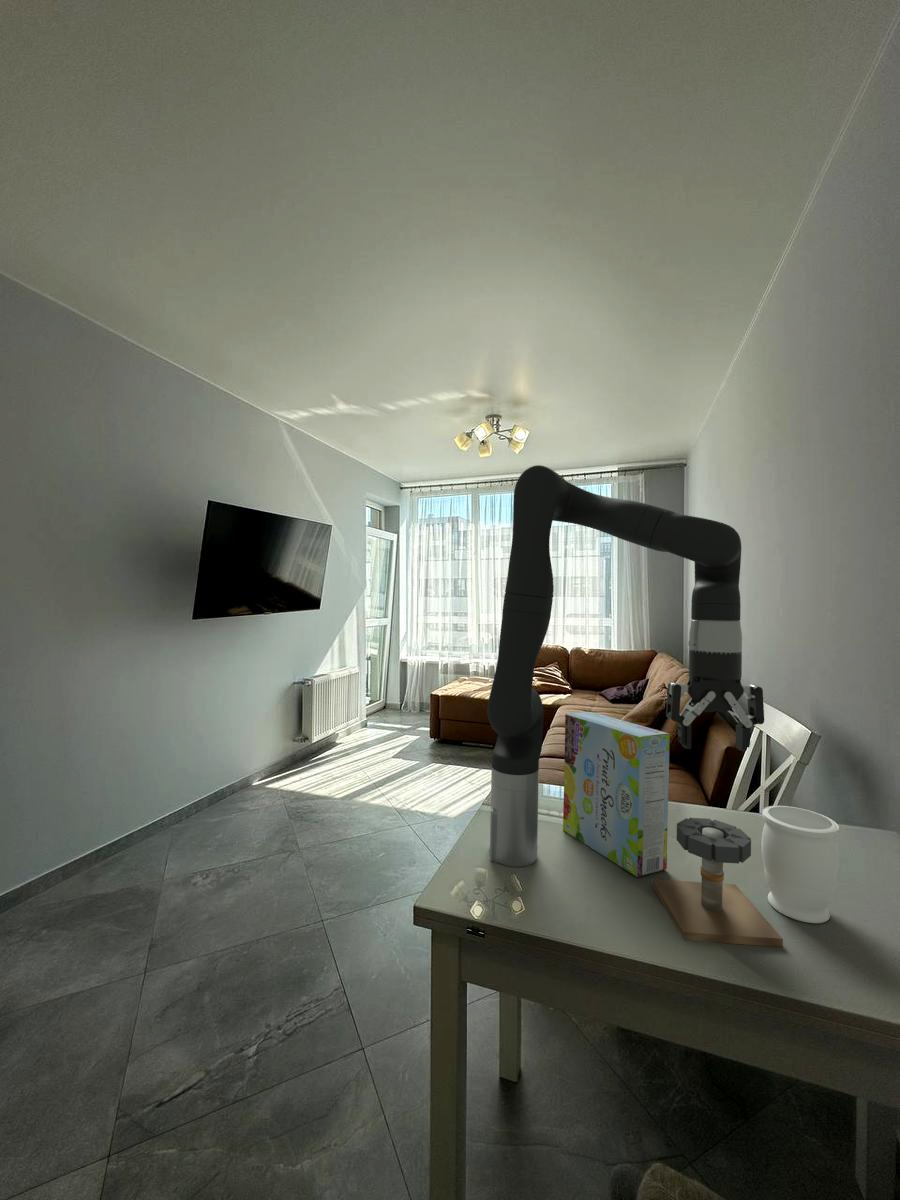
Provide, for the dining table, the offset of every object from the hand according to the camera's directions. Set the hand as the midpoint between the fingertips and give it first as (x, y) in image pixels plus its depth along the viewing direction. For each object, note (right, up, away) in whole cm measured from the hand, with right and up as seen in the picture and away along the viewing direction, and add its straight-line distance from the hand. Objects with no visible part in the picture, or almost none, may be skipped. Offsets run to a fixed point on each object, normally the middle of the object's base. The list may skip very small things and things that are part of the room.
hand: (713, 748), depth 80 cm
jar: (+15, -27, +2) cm, 31 cm away
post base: (0, -27, 0) cm, 27 cm away
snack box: (-10, -27, +21) cm, 35 cm away
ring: (0, -16, 0) cm, 16 cm away
